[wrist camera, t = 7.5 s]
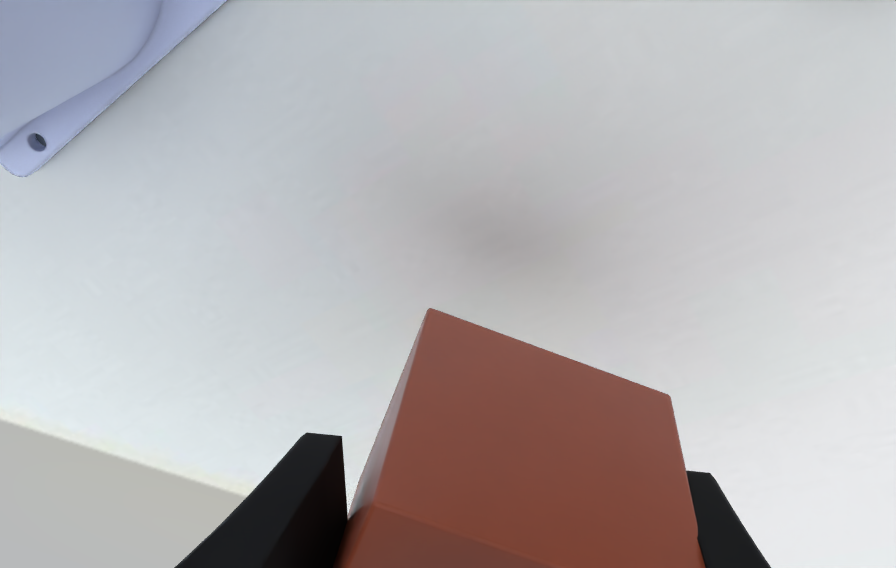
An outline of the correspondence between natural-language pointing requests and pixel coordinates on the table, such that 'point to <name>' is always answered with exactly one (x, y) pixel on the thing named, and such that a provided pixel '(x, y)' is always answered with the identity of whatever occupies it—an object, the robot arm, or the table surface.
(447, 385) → the block
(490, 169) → the table surface
